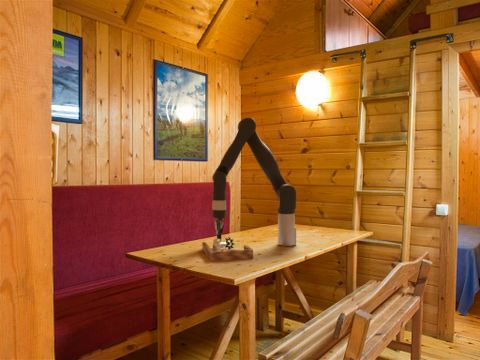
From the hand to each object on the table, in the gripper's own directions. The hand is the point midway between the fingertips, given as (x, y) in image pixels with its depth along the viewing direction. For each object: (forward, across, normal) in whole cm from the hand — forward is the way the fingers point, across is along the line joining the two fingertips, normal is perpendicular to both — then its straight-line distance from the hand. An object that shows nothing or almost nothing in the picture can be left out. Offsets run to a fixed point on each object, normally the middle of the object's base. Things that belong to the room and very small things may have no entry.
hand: (219, 241), depth 198 cm
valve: (+4, -9, 0) cm, 10 cm away
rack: (+3, -17, 0) cm, 17 cm away
